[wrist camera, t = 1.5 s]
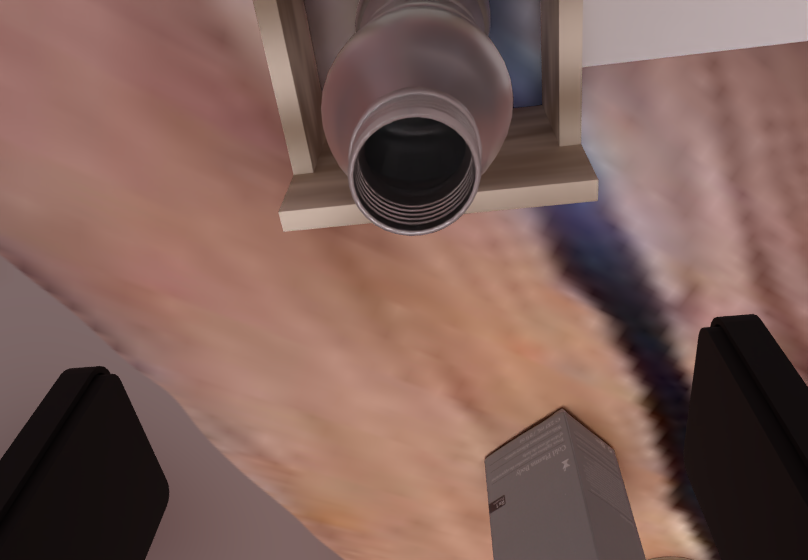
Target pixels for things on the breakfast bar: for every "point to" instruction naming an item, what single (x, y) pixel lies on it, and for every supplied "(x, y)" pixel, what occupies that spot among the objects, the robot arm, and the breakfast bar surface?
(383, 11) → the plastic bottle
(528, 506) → the skincare box
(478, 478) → the breakfast bar surface
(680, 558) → the reusable coffee cup
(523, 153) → the frame
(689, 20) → the pad
